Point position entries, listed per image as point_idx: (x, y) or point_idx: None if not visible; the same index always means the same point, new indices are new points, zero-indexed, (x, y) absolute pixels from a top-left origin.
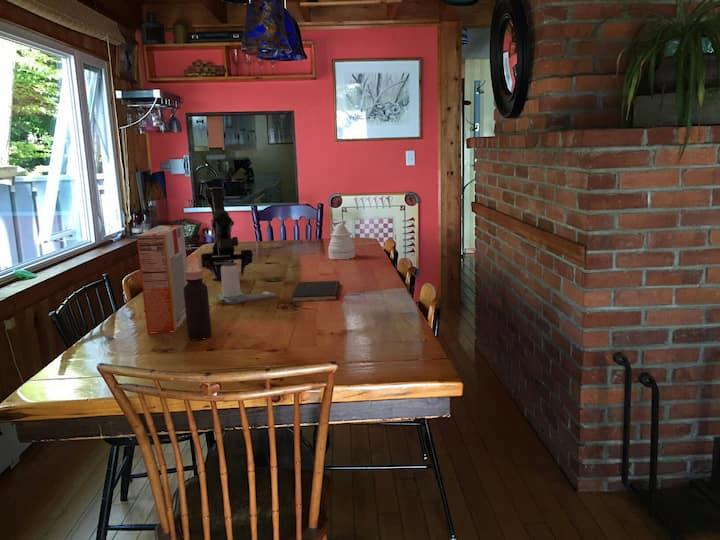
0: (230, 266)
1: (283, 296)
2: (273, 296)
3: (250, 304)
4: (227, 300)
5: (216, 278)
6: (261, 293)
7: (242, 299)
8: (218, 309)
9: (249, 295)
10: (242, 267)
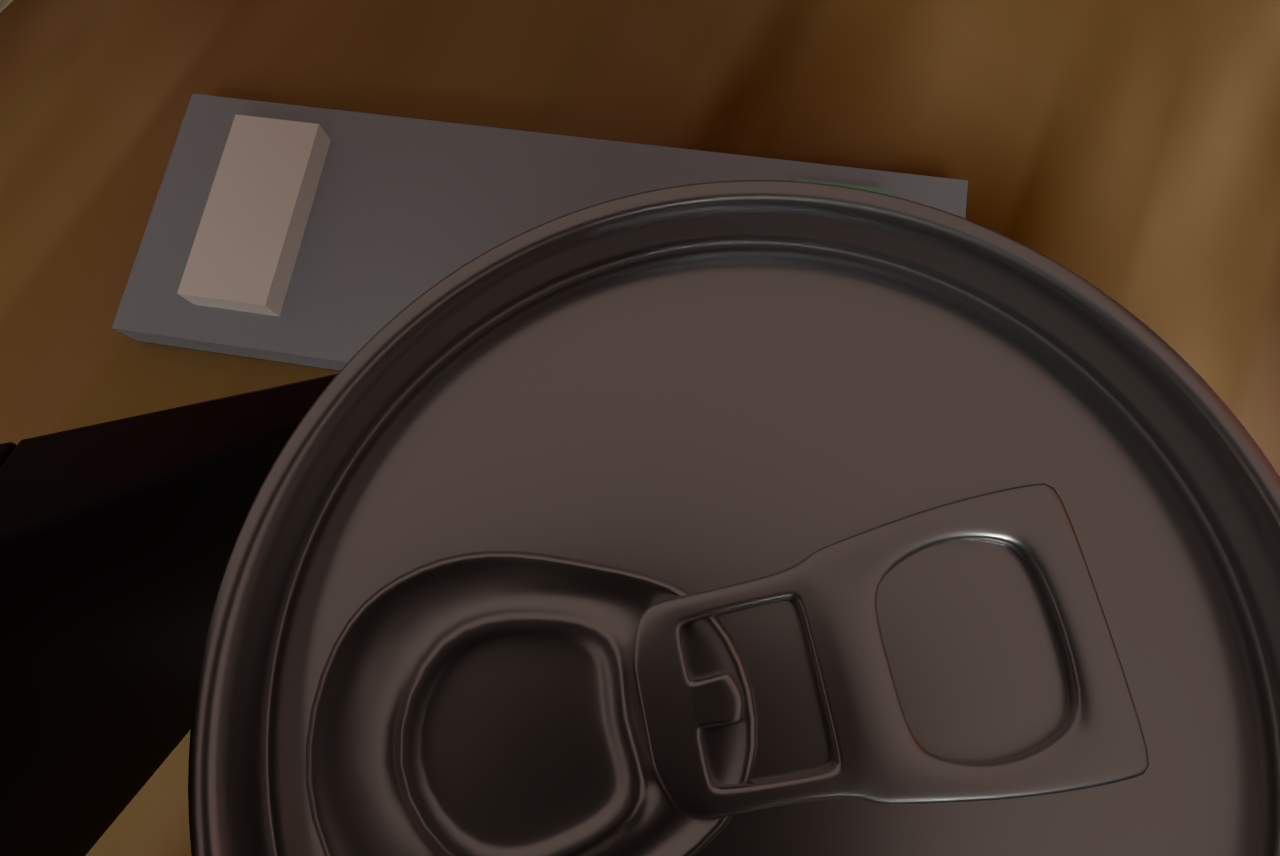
0: (846, 235)
1: (120, 88)
2: (241, 109)
3: (682, 3)
4: None
5: None
6: (282, 328)
7: (705, 182)
8: (1163, 44)
9: None
10: (140, 448)
